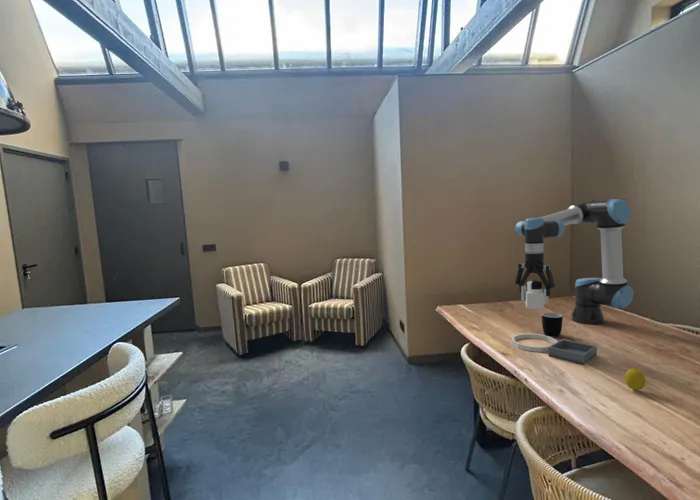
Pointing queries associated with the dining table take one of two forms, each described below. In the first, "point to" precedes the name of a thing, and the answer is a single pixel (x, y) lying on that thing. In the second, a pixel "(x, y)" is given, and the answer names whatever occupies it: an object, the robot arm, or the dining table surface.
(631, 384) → the lemon
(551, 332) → the mug
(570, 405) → the dining table surface
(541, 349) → the ring holder
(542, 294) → the medicine bottle
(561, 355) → the tray
